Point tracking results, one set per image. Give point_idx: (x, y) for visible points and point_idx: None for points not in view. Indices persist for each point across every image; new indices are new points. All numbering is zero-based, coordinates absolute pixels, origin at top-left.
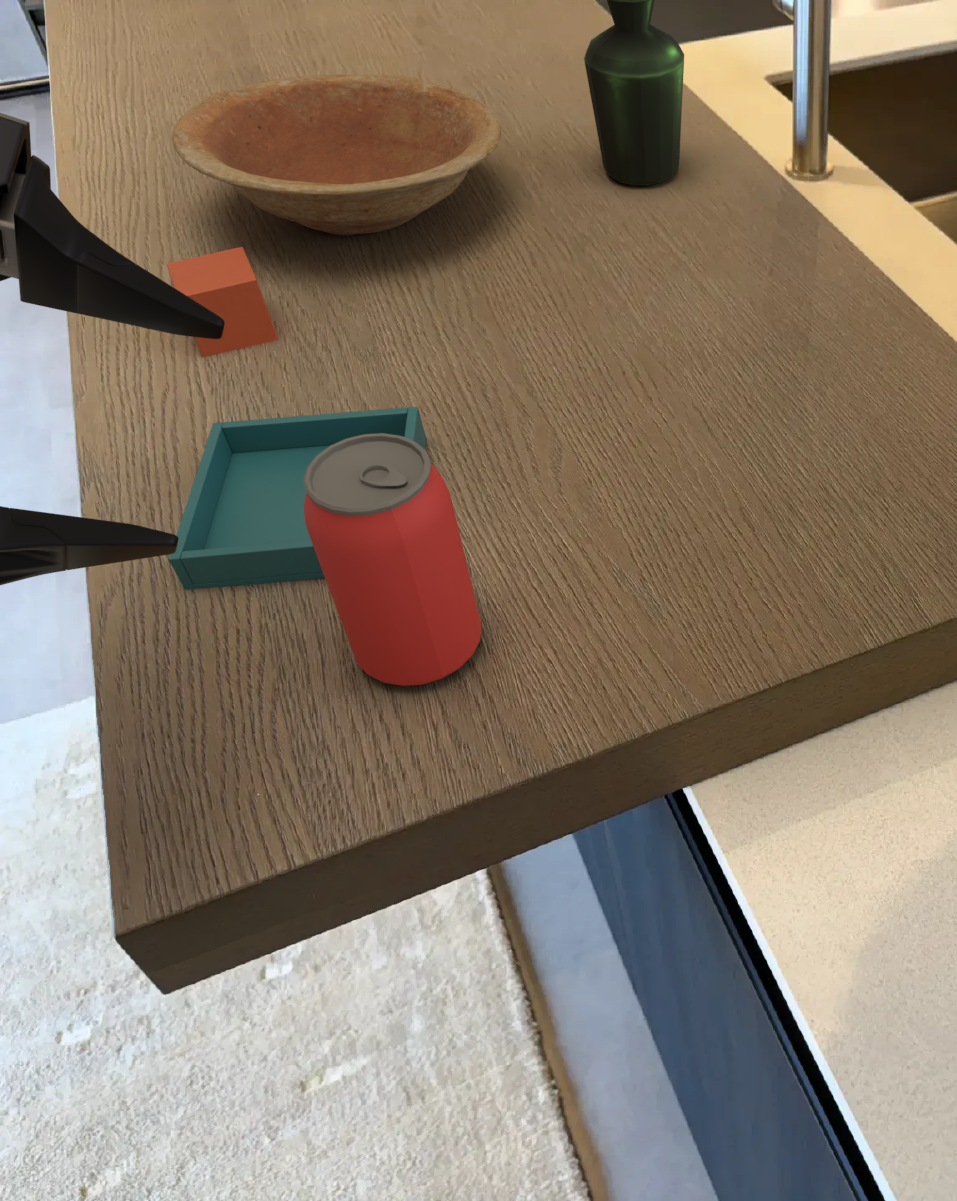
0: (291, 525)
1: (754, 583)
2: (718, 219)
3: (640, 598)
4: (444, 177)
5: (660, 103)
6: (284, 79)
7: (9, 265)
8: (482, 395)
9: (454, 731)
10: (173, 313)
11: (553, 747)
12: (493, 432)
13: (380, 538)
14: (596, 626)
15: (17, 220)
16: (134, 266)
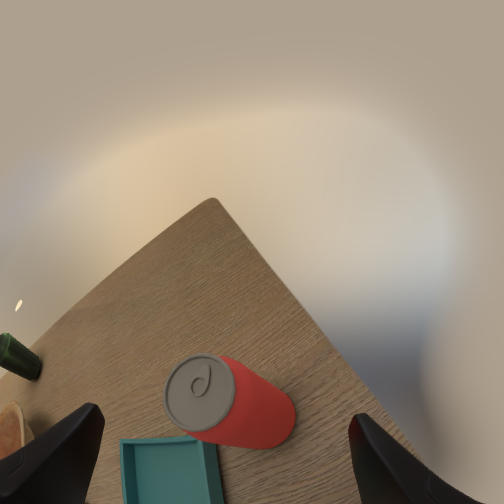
0: (185, 495)
1: (224, 290)
2: (56, 343)
3: (231, 332)
4: (23, 418)
5: (17, 345)
6: None
7: None
8: (112, 422)
9: (315, 389)
10: (78, 437)
11: (319, 341)
12: (131, 416)
13: (247, 379)
14: (247, 345)
15: None
16: (25, 447)
